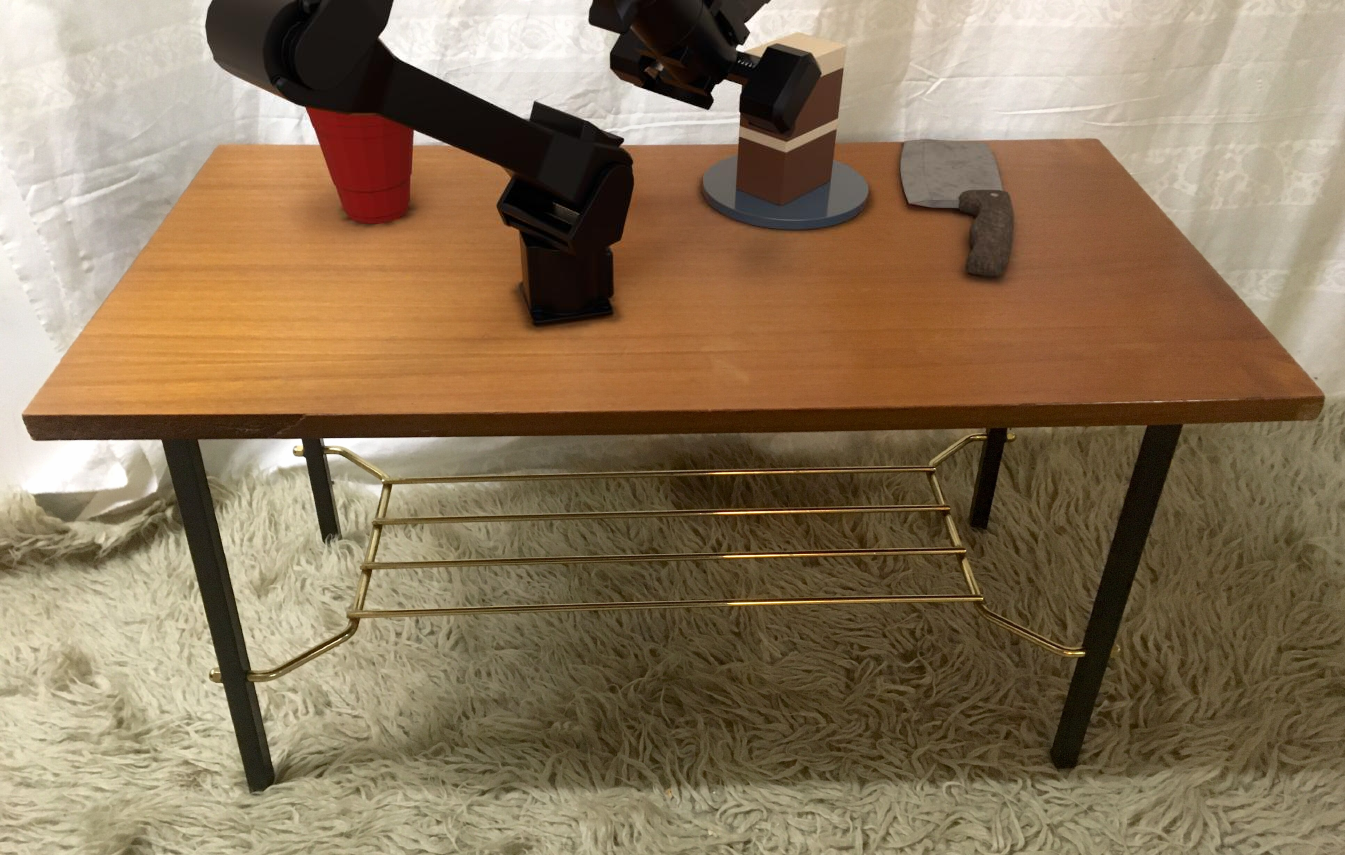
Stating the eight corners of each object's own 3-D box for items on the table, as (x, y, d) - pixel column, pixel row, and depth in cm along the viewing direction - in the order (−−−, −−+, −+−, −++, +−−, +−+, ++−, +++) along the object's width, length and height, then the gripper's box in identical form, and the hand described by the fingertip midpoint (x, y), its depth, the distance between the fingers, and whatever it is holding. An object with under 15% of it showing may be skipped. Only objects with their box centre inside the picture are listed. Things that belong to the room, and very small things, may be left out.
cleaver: (1030, 283, 89) (1036, 261, 88) (913, 275, 90) (917, 252, 89) (987, 150, 113) (991, 131, 112) (894, 144, 114) (897, 125, 112)
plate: (734, 239, 95) (735, 229, 95) (681, 168, 107) (681, 158, 107) (896, 218, 99) (897, 208, 98) (827, 152, 111) (828, 143, 111)
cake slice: (781, 206, 98) (793, 66, 91) (735, 189, 101) (743, 51, 93) (831, 180, 103) (846, 45, 95) (786, 164, 106) (797, 31, 98)
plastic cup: (458, 218, 97) (444, 88, 90) (344, 247, 92) (319, 113, 85) (410, 176, 105) (394, 53, 97) (302, 201, 100) (276, 74, 92)
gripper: (821, -57, 76) (883, 64, 89) (632, -98, 86) (714, 17, 99) (744, 79, 76) (818, 179, 89) (564, 22, 86) (655, 121, 99)
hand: (749, 118), depth 94 cm, fingers open, 9 cm apart
